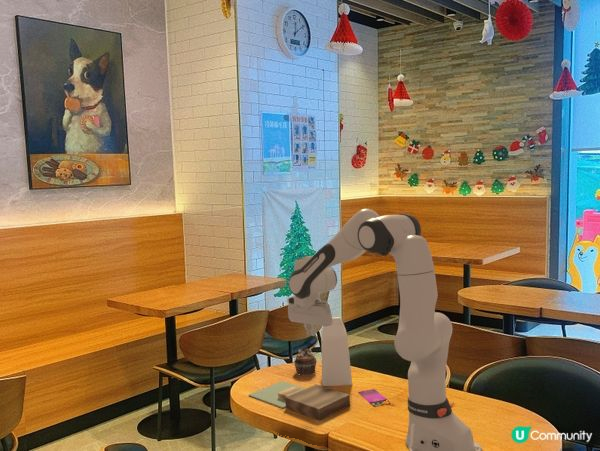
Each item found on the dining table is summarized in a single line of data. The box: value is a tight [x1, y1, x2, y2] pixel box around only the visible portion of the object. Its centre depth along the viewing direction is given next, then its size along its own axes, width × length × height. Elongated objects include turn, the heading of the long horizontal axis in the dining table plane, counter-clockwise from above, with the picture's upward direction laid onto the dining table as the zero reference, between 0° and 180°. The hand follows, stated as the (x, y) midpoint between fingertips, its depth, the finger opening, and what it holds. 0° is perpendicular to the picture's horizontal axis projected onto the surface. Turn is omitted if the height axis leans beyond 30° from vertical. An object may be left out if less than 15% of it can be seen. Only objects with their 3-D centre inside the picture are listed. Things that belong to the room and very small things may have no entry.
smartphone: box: [358, 388, 388, 407], centre depth 209 cm, size 7×15×1 cm, turn 16°
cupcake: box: [293, 347, 318, 376], centre depth 241 cm, size 10×10×10 cm
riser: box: [285, 384, 351, 421], centre depth 204 cm, size 17×16×4 cm
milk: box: [320, 316, 353, 387], centre depth 229 cm, size 12×12×26 cm
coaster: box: [278, 387, 302, 400], centre depth 213 cm, size 8×8×2 cm
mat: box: [248, 380, 306, 409], centre depth 218 cm, size 20×18×1 cm
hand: (311, 335), depth 212 cm, fingers closed
